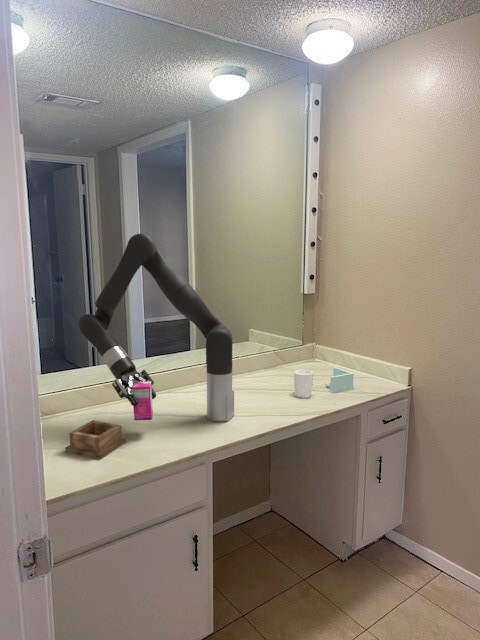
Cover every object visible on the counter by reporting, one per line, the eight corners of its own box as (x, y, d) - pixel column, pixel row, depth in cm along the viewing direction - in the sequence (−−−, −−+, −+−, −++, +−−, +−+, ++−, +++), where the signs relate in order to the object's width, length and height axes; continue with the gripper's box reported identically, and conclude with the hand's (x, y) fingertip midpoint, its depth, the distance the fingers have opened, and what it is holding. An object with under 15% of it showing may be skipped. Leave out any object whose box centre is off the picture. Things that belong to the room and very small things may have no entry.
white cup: (291, 397, 200) (291, 373, 199) (296, 391, 208) (297, 368, 206) (309, 399, 197) (310, 375, 196) (314, 393, 205) (315, 370, 203)
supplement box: (135, 414, 163) (134, 381, 161) (153, 413, 164) (152, 380, 162) (133, 420, 158) (131, 386, 156) (151, 420, 158) (150, 386, 156)
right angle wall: (334, 383, 222) (334, 367, 220) (352, 390, 212) (353, 373, 210) (313, 387, 216) (314, 370, 214) (331, 394, 205) (332, 377, 204)
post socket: (126, 442, 155) (125, 424, 154) (100, 459, 143) (99, 440, 142) (93, 436, 160) (92, 418, 159) (65, 452, 148) (64, 433, 147)
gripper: (108, 360, 155) (136, 401, 151) (139, 351, 167) (166, 389, 163) (97, 374, 159) (124, 414, 155) (128, 364, 171) (154, 401, 167)
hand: (145, 401), depth 159 cm, fingers closed on supplement box, 8 cm apart
